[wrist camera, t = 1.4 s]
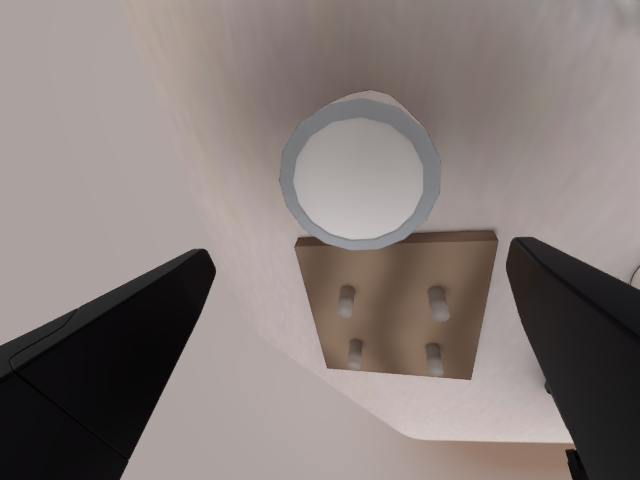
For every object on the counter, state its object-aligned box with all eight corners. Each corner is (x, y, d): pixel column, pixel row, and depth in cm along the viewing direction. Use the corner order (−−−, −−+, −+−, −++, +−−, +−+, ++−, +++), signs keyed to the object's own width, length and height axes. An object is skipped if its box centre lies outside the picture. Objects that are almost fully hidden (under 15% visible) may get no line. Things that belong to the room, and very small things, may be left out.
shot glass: (434, 174, 18) (455, 234, 13) (334, 202, 21) (314, 263, 15) (409, 55, 15) (422, 64, 9) (294, 105, 17) (249, 137, 12)
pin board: (493, 230, 20) (511, 263, 17) (468, 368, 28) (477, 405, 25) (298, 238, 23) (285, 266, 20) (328, 358, 32) (322, 390, 29)
